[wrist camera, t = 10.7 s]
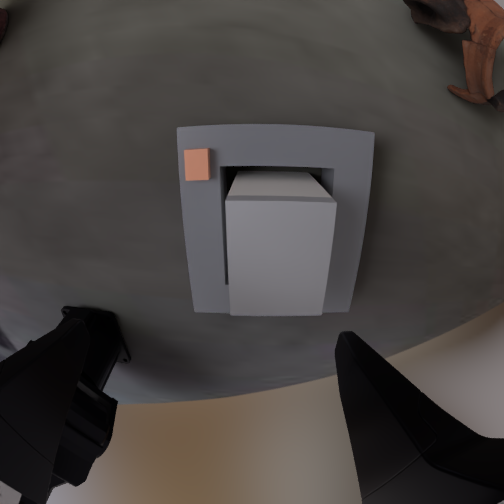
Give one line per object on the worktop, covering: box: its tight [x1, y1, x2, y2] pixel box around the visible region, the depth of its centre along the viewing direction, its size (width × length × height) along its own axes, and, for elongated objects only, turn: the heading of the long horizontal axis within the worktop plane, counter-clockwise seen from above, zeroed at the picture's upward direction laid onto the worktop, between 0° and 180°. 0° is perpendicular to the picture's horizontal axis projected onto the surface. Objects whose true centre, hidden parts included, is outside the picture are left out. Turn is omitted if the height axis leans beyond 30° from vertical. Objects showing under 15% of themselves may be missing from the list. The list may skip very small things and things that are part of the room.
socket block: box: [177, 124, 375, 313], centre depth 16 cm, size 12×10×4 cm
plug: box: [225, 171, 337, 316], centre depth 15 cm, size 6×4×7 cm
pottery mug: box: [403, 0, 504, 112], centre depth 9 cm, size 12×10×8 cm
